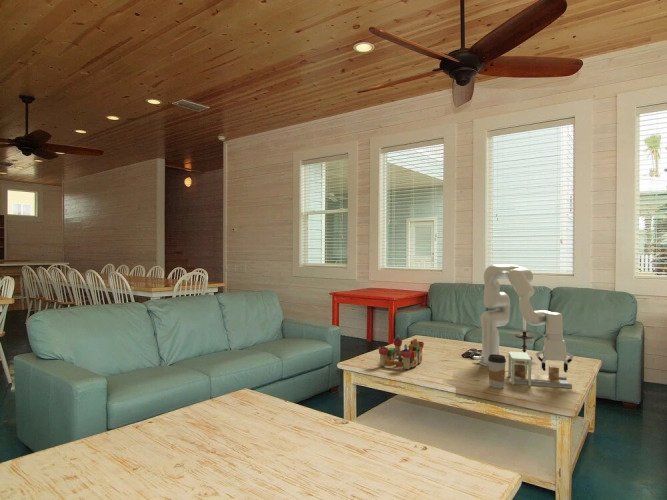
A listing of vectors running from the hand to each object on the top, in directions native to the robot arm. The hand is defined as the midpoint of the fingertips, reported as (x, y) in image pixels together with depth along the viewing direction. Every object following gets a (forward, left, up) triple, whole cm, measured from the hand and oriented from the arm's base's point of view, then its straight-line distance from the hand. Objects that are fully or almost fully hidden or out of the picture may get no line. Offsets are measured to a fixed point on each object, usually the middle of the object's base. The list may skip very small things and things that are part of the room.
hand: (554, 371), depth 216 cm
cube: (-16, 0, -4) cm, 17 cm away
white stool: (-16, 0, -7) cm, 18 cm away
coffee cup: (-28, -13, -7) cm, 32 cm away
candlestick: (-7, +49, -7) cm, 50 cm away
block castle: (-79, +20, -7) cm, 82 cm away
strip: (-8, 0, -5) cm, 10 cm away
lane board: (-6, 0, -7) cm, 9 cm away
